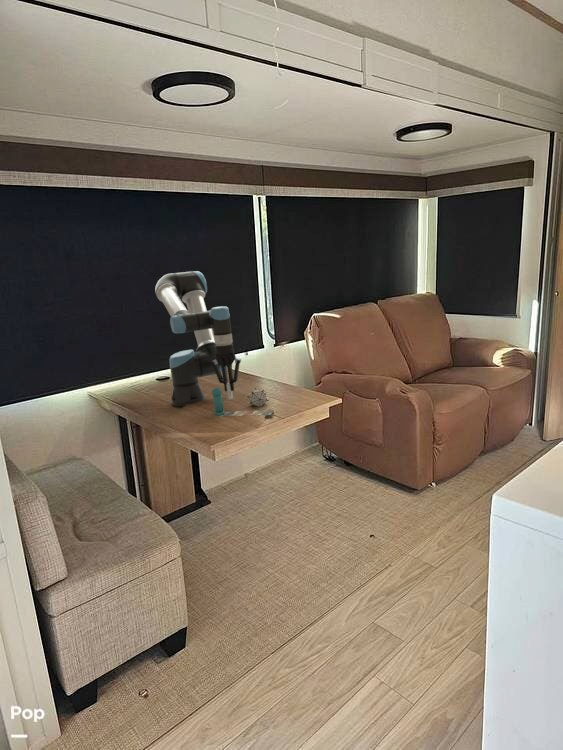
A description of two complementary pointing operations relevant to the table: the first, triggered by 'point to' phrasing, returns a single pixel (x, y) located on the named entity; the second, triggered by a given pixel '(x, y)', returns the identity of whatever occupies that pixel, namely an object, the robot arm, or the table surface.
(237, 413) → the board
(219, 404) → the pawn
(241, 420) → the table surface
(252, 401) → the game die
